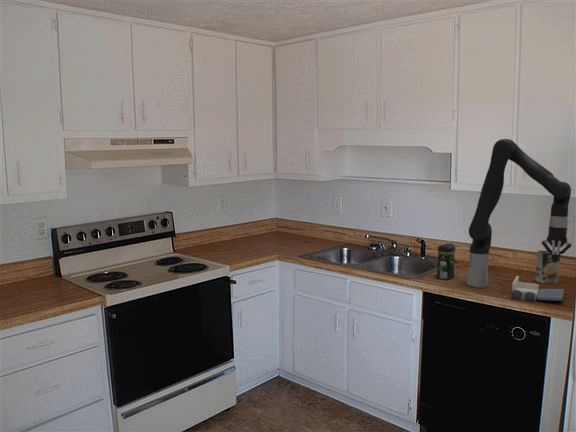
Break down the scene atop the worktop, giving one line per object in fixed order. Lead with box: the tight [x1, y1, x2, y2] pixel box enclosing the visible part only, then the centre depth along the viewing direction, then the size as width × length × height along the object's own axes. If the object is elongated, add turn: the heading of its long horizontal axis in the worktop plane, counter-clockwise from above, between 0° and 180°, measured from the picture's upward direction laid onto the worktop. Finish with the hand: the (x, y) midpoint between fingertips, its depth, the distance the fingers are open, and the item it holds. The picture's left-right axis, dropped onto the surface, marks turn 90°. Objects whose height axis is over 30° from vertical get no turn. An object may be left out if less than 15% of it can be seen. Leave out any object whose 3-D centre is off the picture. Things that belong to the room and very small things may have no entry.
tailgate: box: [536, 288, 565, 301], centre depth 243 cm, size 1×16×10 cm
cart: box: [510, 275, 540, 302], centre depth 248 cm, size 10×17×7 cm, turn 150°
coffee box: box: [534, 250, 562, 284], centre depth 270 cm, size 9×6×16 cm
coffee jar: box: [436, 243, 456, 280], centre depth 279 cm, size 10×8×19 cm
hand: (554, 262), depth 241 cm, fingers closed
